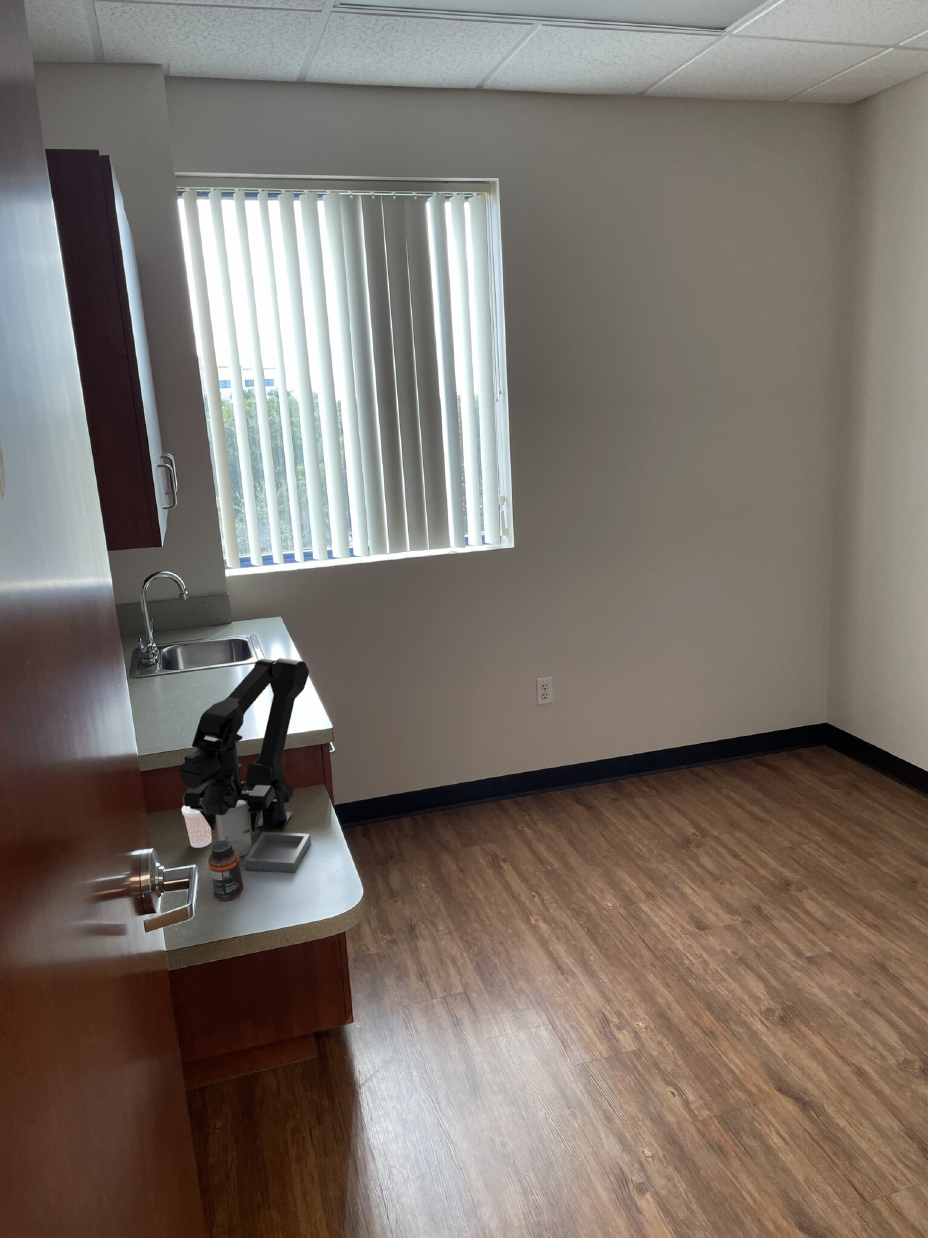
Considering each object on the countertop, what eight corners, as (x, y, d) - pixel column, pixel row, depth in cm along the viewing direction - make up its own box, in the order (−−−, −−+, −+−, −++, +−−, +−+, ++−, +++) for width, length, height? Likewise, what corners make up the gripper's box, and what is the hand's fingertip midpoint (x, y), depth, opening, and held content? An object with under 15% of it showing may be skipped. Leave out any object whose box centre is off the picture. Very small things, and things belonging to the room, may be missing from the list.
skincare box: (226, 862, 184) (219, 812, 180) (219, 852, 187) (212, 804, 183) (254, 852, 187) (247, 803, 183) (246, 843, 190) (240, 795, 187)
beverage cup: (210, 831, 196) (202, 777, 191) (218, 843, 191) (210, 788, 186) (183, 840, 192) (174, 785, 188) (191, 853, 188) (182, 796, 183)
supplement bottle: (232, 880, 177) (225, 833, 174) (249, 891, 174) (243, 843, 170) (207, 895, 173) (200, 847, 169) (225, 906, 169) (218, 857, 166)
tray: (263, 841, 191) (262, 831, 190) (311, 843, 189) (310, 834, 188) (245, 870, 180) (243, 860, 180) (295, 873, 179) (293, 863, 178)
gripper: (165, 783, 174) (176, 849, 179) (252, 786, 172) (261, 853, 176) (189, 758, 185) (199, 820, 190) (272, 760, 182) (279, 824, 187)
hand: (233, 830), depth 185 cm, fingers open, 9 cm apart
